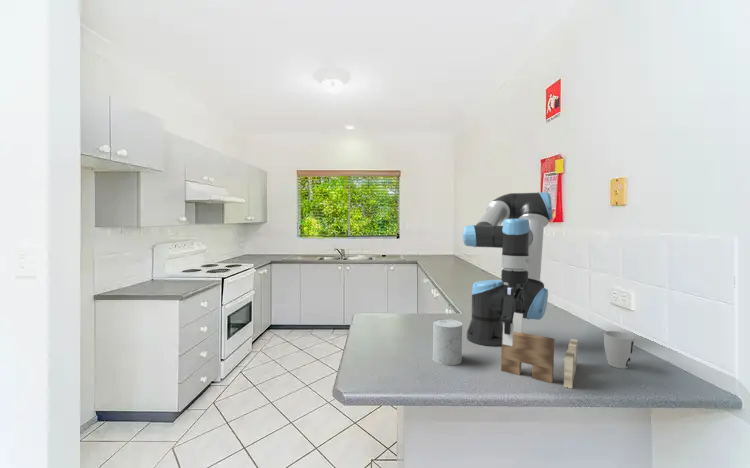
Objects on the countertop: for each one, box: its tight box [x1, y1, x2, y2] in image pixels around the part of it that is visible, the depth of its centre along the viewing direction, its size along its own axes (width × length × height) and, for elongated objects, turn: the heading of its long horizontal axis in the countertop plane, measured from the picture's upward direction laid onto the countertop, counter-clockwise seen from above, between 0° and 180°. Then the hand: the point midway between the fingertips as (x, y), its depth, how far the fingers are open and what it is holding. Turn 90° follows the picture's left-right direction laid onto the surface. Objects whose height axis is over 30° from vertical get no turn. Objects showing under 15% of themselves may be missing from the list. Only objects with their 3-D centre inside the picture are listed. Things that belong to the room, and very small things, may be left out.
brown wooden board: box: [500, 331, 555, 384], centre depth 102 cm, size 14×3×12 cm, turn 56°
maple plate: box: [563, 338, 578, 389], centre depth 102 cm, size 20×2×8 cm, turn 146°
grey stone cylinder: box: [432, 318, 463, 366], centre depth 113 cm, size 10×10×12 cm
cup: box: [603, 330, 636, 370], centre depth 110 cm, size 8×8×10 cm
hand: (512, 338), depth 104 cm, fingers open, 13 cm apart
